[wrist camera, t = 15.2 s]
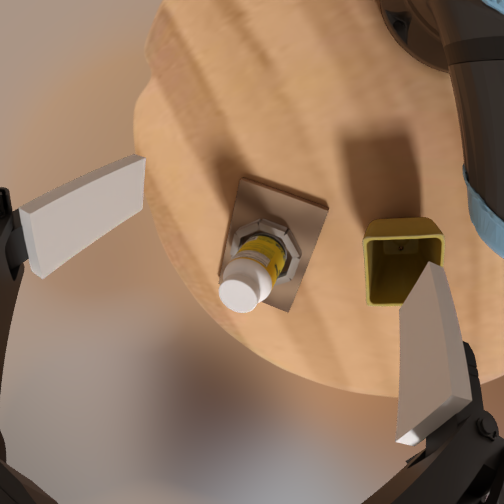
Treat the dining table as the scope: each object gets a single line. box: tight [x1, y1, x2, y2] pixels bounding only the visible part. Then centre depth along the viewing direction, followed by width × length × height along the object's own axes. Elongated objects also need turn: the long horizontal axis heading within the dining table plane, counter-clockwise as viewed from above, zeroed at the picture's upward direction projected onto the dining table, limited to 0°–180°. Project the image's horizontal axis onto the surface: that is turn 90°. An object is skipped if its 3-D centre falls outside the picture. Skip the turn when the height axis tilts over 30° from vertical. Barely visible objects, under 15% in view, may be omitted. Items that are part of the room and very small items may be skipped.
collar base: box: [219, 178, 329, 313], centre depth 44 cm, size 18×12×2 cm, turn 167°
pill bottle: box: [219, 233, 287, 313], centre depth 40 cm, size 6×6×11 cm
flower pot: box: [363, 217, 445, 306], centre depth 34 cm, size 9×9×9 cm
